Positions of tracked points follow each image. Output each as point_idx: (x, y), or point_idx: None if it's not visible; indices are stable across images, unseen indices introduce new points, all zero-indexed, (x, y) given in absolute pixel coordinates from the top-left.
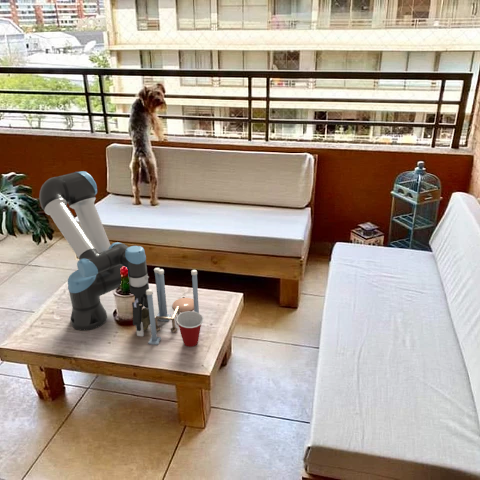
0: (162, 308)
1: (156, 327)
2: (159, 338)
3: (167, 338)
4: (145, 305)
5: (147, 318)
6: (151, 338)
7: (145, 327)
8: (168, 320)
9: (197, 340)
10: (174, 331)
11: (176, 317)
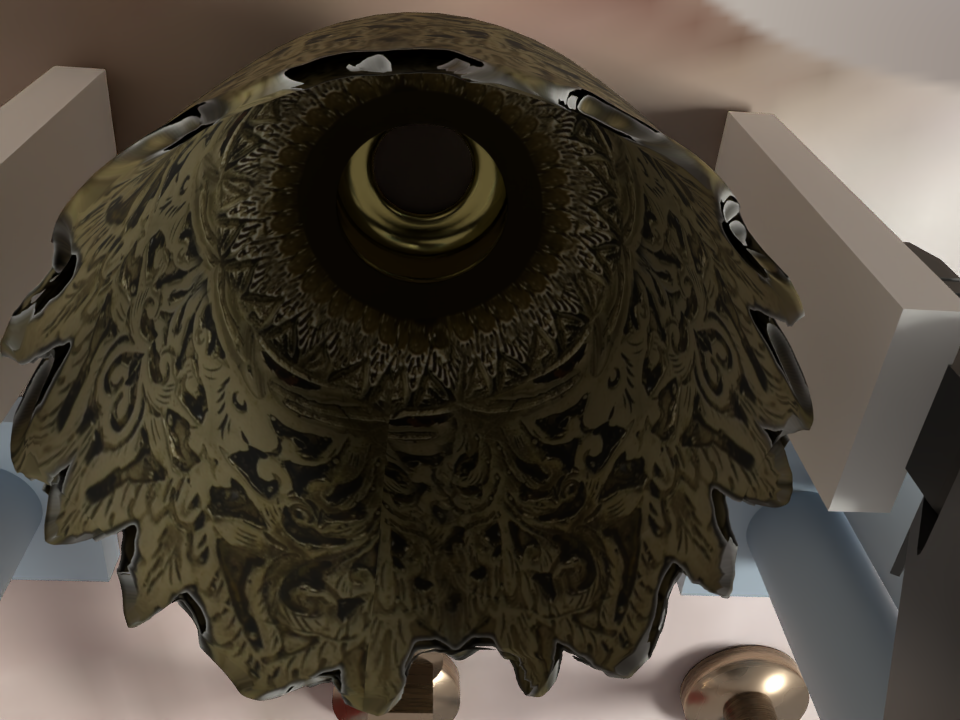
0: (864, 712)
1: None
2: (54, 572)
3: (154, 637)
4: (949, 496)
5: (208, 596)
6: (7, 441)
7: (339, 256)
8: (677, 583)
9: None
10: (338, 713)
11: (754, 678)
